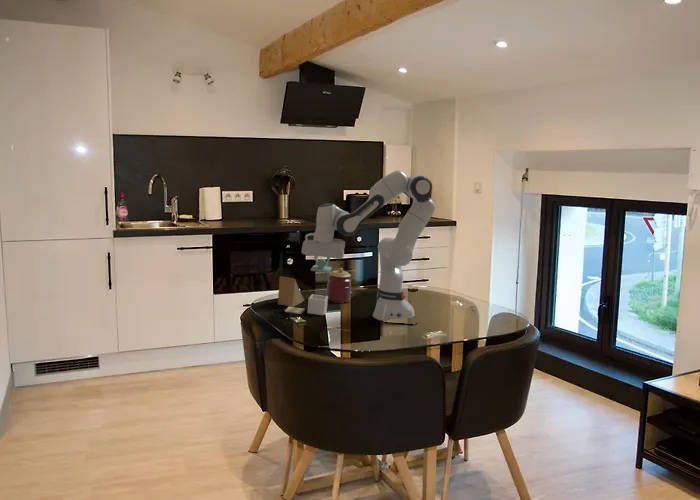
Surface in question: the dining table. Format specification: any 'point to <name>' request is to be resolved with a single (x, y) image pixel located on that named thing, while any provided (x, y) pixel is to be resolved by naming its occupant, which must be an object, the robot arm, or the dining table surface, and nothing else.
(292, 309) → the board
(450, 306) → the dining table surface
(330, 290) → the canister
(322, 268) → the lid
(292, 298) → the sandwich container
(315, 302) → the box
